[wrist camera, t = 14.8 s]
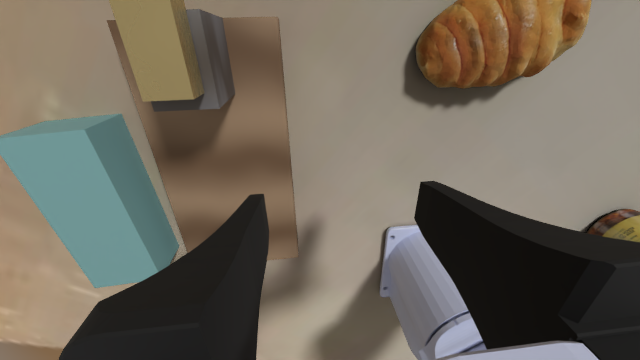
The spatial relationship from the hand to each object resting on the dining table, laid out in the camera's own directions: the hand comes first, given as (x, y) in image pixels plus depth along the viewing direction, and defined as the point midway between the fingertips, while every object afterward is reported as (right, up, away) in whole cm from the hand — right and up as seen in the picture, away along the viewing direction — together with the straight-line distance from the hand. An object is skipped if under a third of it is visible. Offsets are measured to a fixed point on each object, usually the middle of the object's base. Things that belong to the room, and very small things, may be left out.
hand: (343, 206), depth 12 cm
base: (-8, +3, +8) cm, 12 cm away
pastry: (+11, +11, +6) cm, 17 cm away
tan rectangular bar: (-8, +8, -2) cm, 11 cm away
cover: (-17, 0, +9) cm, 19 cm away
